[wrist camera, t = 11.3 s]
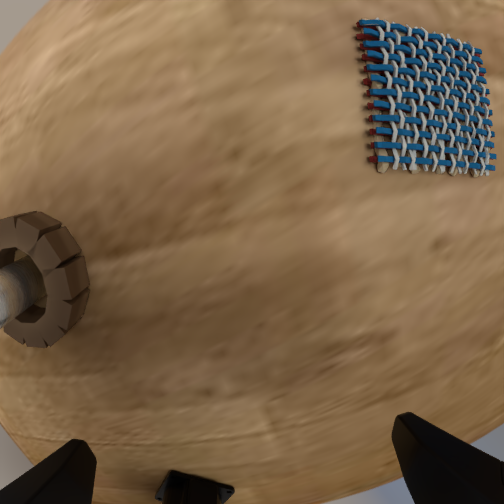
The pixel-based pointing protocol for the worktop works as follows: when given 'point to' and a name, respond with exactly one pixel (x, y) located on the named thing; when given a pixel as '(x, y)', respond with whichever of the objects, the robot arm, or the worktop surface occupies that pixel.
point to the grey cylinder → (19, 288)
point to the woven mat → (426, 99)
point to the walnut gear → (46, 277)
